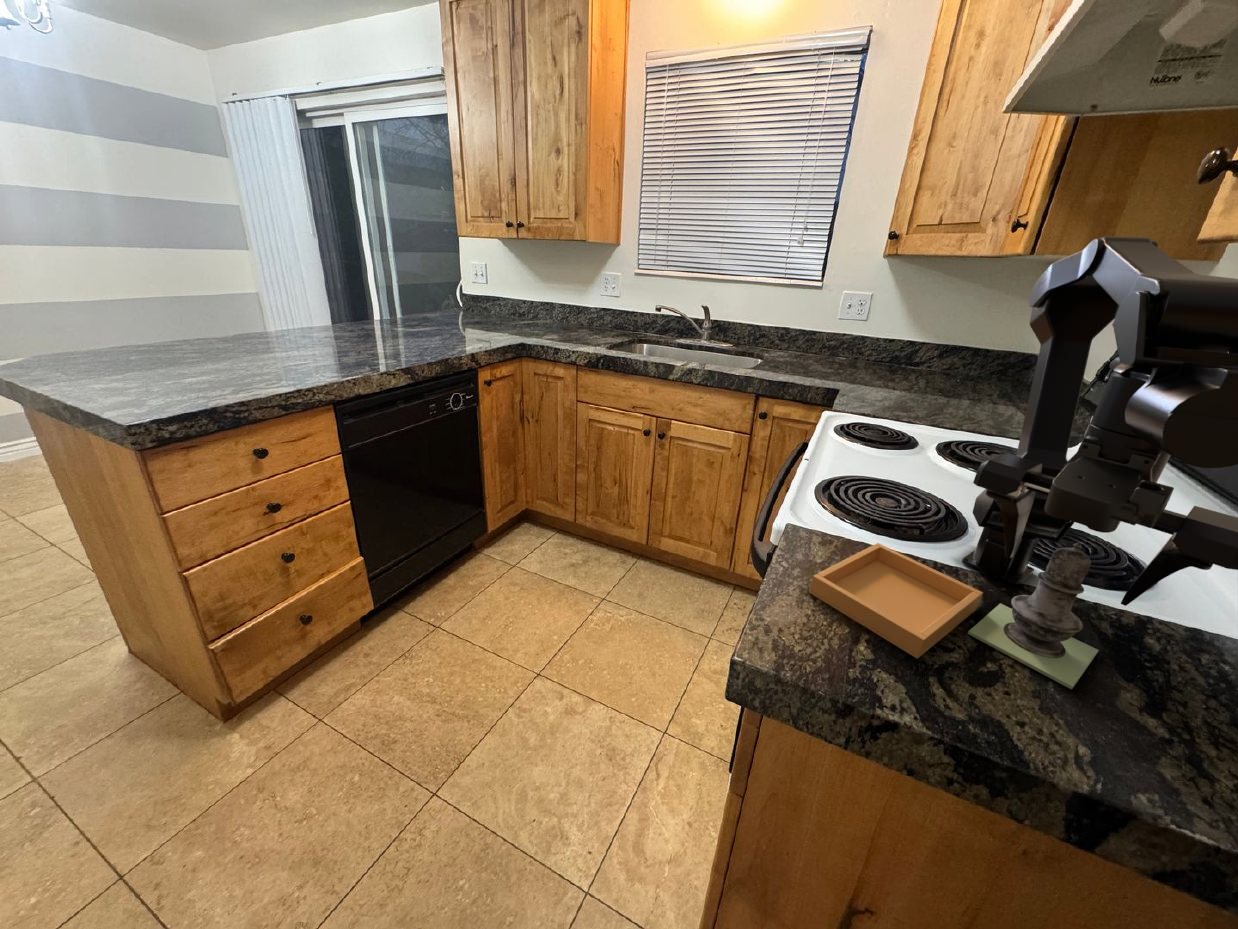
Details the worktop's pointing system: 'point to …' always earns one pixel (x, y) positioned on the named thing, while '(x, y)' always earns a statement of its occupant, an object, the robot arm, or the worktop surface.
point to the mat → (1055, 668)
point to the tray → (896, 597)
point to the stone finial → (1050, 605)
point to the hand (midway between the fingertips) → (1062, 578)
